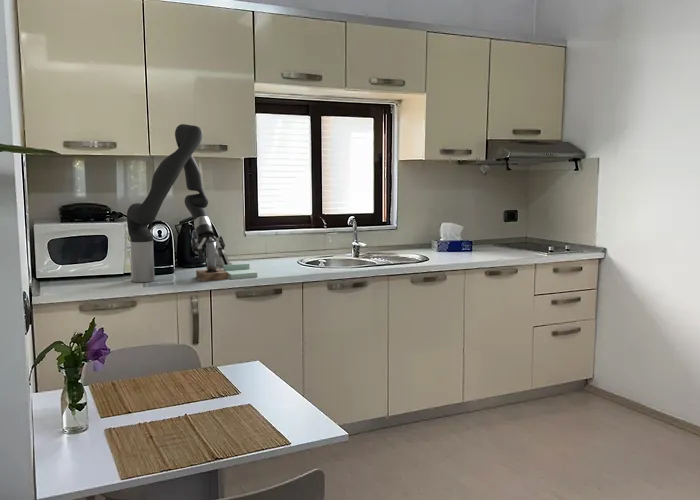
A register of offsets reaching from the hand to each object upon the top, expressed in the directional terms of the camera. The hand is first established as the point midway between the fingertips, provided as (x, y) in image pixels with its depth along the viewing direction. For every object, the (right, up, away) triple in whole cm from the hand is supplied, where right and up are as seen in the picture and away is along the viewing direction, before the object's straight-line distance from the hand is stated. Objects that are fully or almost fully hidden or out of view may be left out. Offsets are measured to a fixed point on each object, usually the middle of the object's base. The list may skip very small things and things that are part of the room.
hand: (211, 256), depth 278 cm
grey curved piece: (-3, -5, +36) cm, 37 cm away
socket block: (0, -9, +1) cm, 9 cm away
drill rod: (0, -9, +1) cm, 9 cm away
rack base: (+11, -9, +7) cm, 16 cm away
